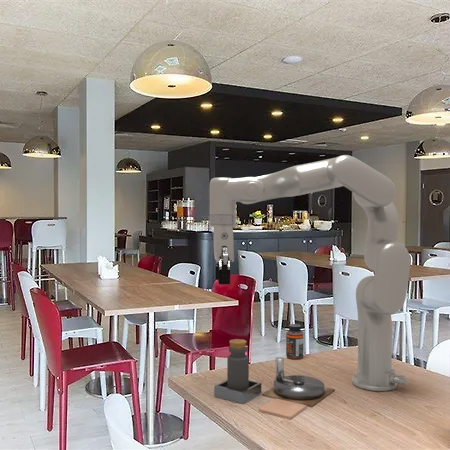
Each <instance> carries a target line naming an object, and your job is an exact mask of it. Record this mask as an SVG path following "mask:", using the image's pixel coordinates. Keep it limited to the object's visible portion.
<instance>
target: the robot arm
mask: <svg viewBox="0 0 450 450" xmlns="http://www.w3.org/2000/svg"><path fill="white" fill-rule="evenodd" d="M209 181H210V182H209V212H208V213H209V216H208V217H209V220H208V221H209V227H213V255H214V259H215V280H217V281H218V285H230V284H231V268H230V267H231V266H230V262H231V263H233V262H235V251H234V249H235V247H234V244H235V242H234V228H233V227H237V202H238V203H241V204H243V205H250V204H251V205H252V204H256V203H259V202H263V201H264V202H265V201H269V200H274V199H280V198H287V197H289V198H290V197H296V196H302V195H306V194H312V193H317V192H323V191H327V190H331V189H336V188H341V187H344V188H346V189H348V190H349V191H351V192H352V195H353V199H354V200H355V202H356V203H357V204H358V205H359V206H360V207H361V208H362V209H363V210H364V212H365V214H366V217H367V232H366V241H365V247H364V254H363V261H364V264H365V265H366V266H367V268H368V269H370V270H372V271H373V272H374V275H368V276H365V277H363V278H362V279H360V280H359V282H358V284H357V286H356V289H355V302H356V308H357V309H356V310H357V374H356V375H354V376H352V379H351V381H352V384H353V385H354V386H355V387H357V388H360V389H363V390H367V391H373V392H388V391H393V390H395V389H396V388H397V387H398V384H399V385H404V386H406V385H407V381H408V380H407V377H405V376H404V375H399V374H397V373H396V371H395V368H393V367H392V366H393V365H392V364H393V363H392V361H393V360H392V359H393V352H392V351H393V350H392V349H393V347H392V346H393V342H392V341H393V321H392V315H395V314H397V313H398V312H400V310H401V309H402V308H403V306H404V304H405V302H406V298H407V293H408V286H409V285H408V284H409V276H410V271H411V270H410V268H411V257H410V253H409V251H408V248H407V247H406V246H405V245H404V244H402V243H401V242H400V241H398V237H399V222H400V221H399V214H398V211H397V207H396V206H395V204H394V202H393V201H395V198H396V194H397V190H396V185H395V184H394V182H393V181H392V179H390V178H389V177H388V176H387V175H385V174H383V173H381V172H380V171H378V170H376V169H375V168H373V167H371V166H370V165H368V164H367V163H365V162H363V161H362V160H360V159H358V158H356V157H354V156H353V155H352V156H351V155H349V154H343V155H339V156H336V157H332V158H327V159H322V160H318V161H313V162H308V163H303V164H296V165H293V166H290V167H287V168H285V169H282V170H279V171H275V172H273V173H269V174H264V175H260V176H245V177H233V178H232V177H219V176H218V177H213V178H211V180H209Z"/></svg>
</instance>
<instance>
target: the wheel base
mask: <svg viewBox="0 0 450 450" xmlns="http://www.w3.org/2000/svg"><path fill="white" fill-rule="evenodd" d="M335 391H336V389H335V388H330V387H325V386H324V394H323V395H322V396H321V397H318V398H315V399H308V400H297V399H289V398H285V397H282V396H279V395H277V394H276V393H275V392H274V386H273V387H271V388H269V389H267V391H265V392H262V394H261V396H263V397H266V398H270V399H276V398H278V399H282V400H286V401H290V402H295V403H299V404H303V405H307V407H308V408H309V407H310V408H313V407H314V406H316V405H318V404H319V403H320V402H321V401H323V400H324V399H326V398H327V397H328V396H330V395H331V394H332V393H334V392H335Z"/></svg>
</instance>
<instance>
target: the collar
mask: <svg viewBox="0 0 450 450" xmlns="http://www.w3.org/2000/svg"><path fill="white" fill-rule="evenodd" d="M213 390H214V391H213V397H214V398H218V399H221V400H226V401H229V402H234V403H238V404H241V405H244V404H246V403H248V402H249V401H251V400H253V399H254V398H257V397H258V396H259V395H262V394H263V392H262V390H263V389H262V382H259V381H254V380H250V379H249V388H248V389H246V390H244V391H238V390H234V389H230V388H227V379H226V380H224V381H222V382H220V383H217V384H215V385H214V386H213Z"/></svg>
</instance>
